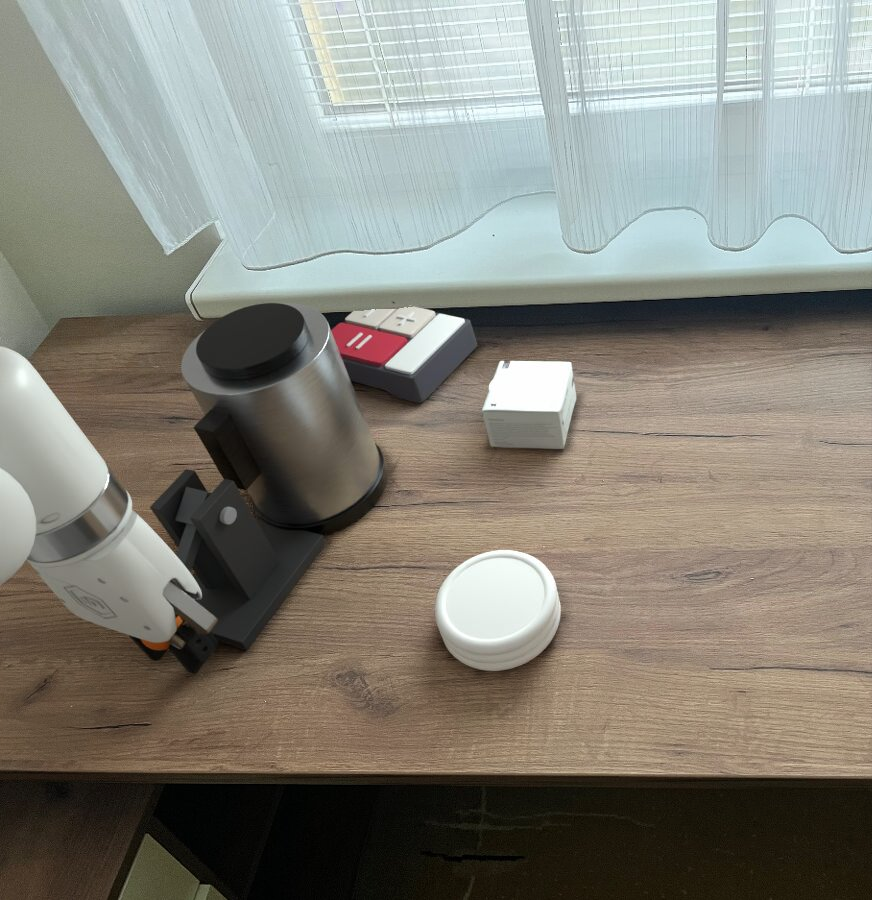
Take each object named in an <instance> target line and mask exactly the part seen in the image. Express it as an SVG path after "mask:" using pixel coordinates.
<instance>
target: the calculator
mask: <svg viewBox="0 0 872 900" xmlns="http://www.w3.org/2000/svg"><path fill="white" fill-rule="evenodd" d="M331 332H332V334H333V337H334V340H335V342H336V345H337V347H338V350H339V352H340V355H341V357H342V360H343V363H344V365H345V368H346V370H347V373H348V375H349V378H350V381H351V382H355V383H358V384H362V385H366V386H369V387H373V388H376V389H381V390H384V391H387V392H388V393H389V394H391V395H392V396H394V397H396V398H399V399H402V400H405V401H410V402H413V403H417V404H421V403H423V402H425V401H426V400H427V399H428V398H429V397H430V396H431V395H432V394H433V393H434V392H435V391H436V389H437V388H438V387H440V385H442V383H443V382H444V381H445V380H446V379H447V378H448V377H449V376H450V375H451V374H452V373H453V372H454V371H455V370H456V369H457V368H458V367H459V366H460V365H461V364H462V363H463V362H464V361H465V360H466V358H468V357H469V356H470V354H471V353H472V352H474V350H475V349H476V348H477V347H478V343H477V338H476V335H475V332H474V328H473V325H472V323H471V320H470V319H468V318H463V317H458V316H454V315H449V314H445V313H440V312H436V311H434V310H432V309H427V308H422V307H418V306H413V307H408V308H407V307H404V308H399V309H376V310H375V309H371V310H364V311H354V310H353V311H351V313H349V314H348V315H347V316H346V317H345V318H344V321H343V322H339V323H337V324H336V325H335V326H334V327H333V328H332V329H331Z"/></svg>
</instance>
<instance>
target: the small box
mask: <svg viewBox="0 0 872 900" xmlns="http://www.w3.org/2000/svg"><path fill="white" fill-rule="evenodd" d="M576 402H577V392H576V385H575V378H574V372H573V365H572V362H570V361H533V360H532V361H531V360H530V361H526V360H499V362H498V364H497V366H496V370H495V372H494V375H493V379H492V380H491V381H490V383H489V384H488V392H487V395H486V398H485V401H484V403H483V407H482V409H481V414H482V417H483V422H484V426H485V429H486V433H487V437H488V441H489V446H491V447H492V448H513V449H514V448H515V449H546V450H563V449H565V446H566V442H567V437H568V434H569V428H570V424H571V420H572V417H573V412H574V409H575V405H576Z"/></svg>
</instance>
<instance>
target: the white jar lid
mask: <svg viewBox="0 0 872 900" xmlns="http://www.w3.org/2000/svg"><path fill="white" fill-rule="evenodd" d="M561 606H562V605H561V602H560V596H559V592H558V588H557V583H556V580H555V577H554V575H553V574H552V573H551V571H550V570H549V569H548V567H547V566H546V565H545V564H544V563H543V562H542V561H541V560H539V559H538V558H536V557H534V556H532V555H530V554H528V553H525V552H521V551H517V550H511V549H499V550H491V551H487V552H483V553H480V554H477V555H475V556H473V557H470V558H468V559H467V560H465V561H463V562H461V563H460V564H459V565H458V566H457V567H455V568H454V569H453V570H452V571H451V572H450V573H449V574H448V575H447V576H446V578H445V579H444V580H443V582H442V584H441V585H440V587H439V589H438V592H437V595H436V597H435V602H434V621H435V623H436V626H437V628H438V630H439V635H441V638H442V642H443V643H444V645H445V647H446V649H447V651H448V652H449V653H450V654H451V655H452V656H453V657H454V658H455V659H457V660H458V661H459V662H460V663H462V664H463V665H465V666H468V667H470V668H473V669H475V670H480V671H487V672H499V671H506V670H511V669H515V668H517V667H520V666H523V665H525V664H527V663H528V662H530V661H532V660H534V659H535V658H536V657H537V656H538V655H540V654H541V653H542V652H543V651H544V650H545V649H546V648H548V646H549V645H550V643H551V642H552V641H553V639H554V637H555V635H556V633H557V630H558V628H559V625H560V621H561V615H562V614H561V613H562V607H561Z"/></svg>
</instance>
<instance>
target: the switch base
mask: <svg viewBox="0 0 872 900" xmlns="http://www.w3.org/2000/svg"><path fill="white" fill-rule="evenodd" d="M186 487H189V488H193V489H197V490H201V491H205V492H208V490H207V488H206V486H205V485H204V483H203V481H202V480H201V478H200V477H199V475H198V474H197V472H196V471H195V470H191V469H187V468H186V469H184V470H183V471H182V472H181V473H180V474H179V476H178V477H176V479H175V480H174V481H173V482H172V483H171V484H170V485H169V486H168V487H167V488H166V489H165V490H164V491H163V493H161V495H159V496H158V497H157V499H156V500H155V501H154V502H153V503H152V504H151V505H150V506H149V509H150V510H151V511H152V513H153V514H154V516H155V517H156V519H157V520H158V521H159V523H160V524H161V526H162V527H163V529H164V530H165V532H166V533H167V534H168V536H169V537H170V538H171V540H172V541H173V543H174V545H175V546H176V547H177V549H178V548H179V545H180V541H181V538H182V535H183V532H184V529H185V526H186V523H183V522H180V521H176V520H175V519H176V516H177V513H178V510H179V507H180V504H181V501H182V498H183V495H184V492H185V489H186ZM210 493H211V494H210V495H209V496H208V498H207V499H206V500H205V501H204V502H203V503H202V504H201V505H200V506H199V508H198V509H197V510H196V511H195V512H194V513H193V514H192V515H191V517H190V520H191V521H192V523H193V524H194V526H195V527H196V529H197V530H198V532H199V533H200V535H201V536H202V539H201V542H200V545H199V548H198V551H197V554H196V558H195V561H194V564H193V567H192V570H193V572H194V573H193V574H192V576H193V577H194V579H195V580H196V582H197V583H198V585H199V587H200V589H201V592H202V599H201V600H195V601H196V602H198V603H199V604H200V605H201V606H203V607H204V608H205V609H206V610H208V611H209V612H210V613H211V614H213V615H214V616H215V617H216V618H217V619H218V622H217V623H216V625H215V626H214V627H213V629H212V630H211V631H210V632H211V633H212V634H213V635H214V637H215V638H216V639H217V640H218V643H222V644H226V645H229V646H231V647H235V648H238V649H241V650H243V651H248V650H249V649H250V648H251V646H252V645H253V643H254V642H255V641H256V639H257V638H258V637H259V636H260V634H261V633H262V631H263V630H264V628H265V627H266V626H267V624H268V623H269V622H270V620H271V619H272V618H273V617H274V615H275V614H276V612H277V611H278V609H279V608H280V607H281V605H282V604H283V603H284V601H286V598H287V597H288V596H289V595H290V593H291V592H292V591H293V590H294V588H295V587H296V585H297V584H298V582H299V581H300V580H301V579H302V577H303V576H304V574H305V573H306V571H307V570H308V569H309V568H310V566H311V565H312V564H313V562H314V561H315V560H316V558H317V557H318V556H319V554H320V553H321V551H322V550H323V549H324V547H325V546H326V544H327V541H326V540H325V537H324V535H320V534H316V533H312V532H308V531H305V530H286V529H281V528H277V527H274V526H272V525H270V524H268V523H266V522H265V521H263V520H262V519H259V517H255V515H254V514H253V512H252V511H251V509H250V507H249V505H248V503H247V502H246V500H245V498H244V496H243V495H242V493H241V491H240V489H238V488H237V486H236V484H235V482H234V481H232V480H228V479H222V481H221V482H220V483H219V484H218V485H217V486H216V488H214V490H213V491H212V492H210ZM180 618H181V617H180ZM181 619H182V621H183V620H184V619H183V618H181Z"/></svg>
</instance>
